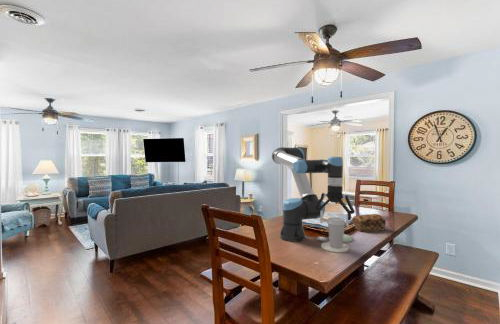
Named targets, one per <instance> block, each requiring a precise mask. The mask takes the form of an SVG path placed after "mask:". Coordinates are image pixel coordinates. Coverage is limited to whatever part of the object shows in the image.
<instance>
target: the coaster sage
mask: <svg viewBox="0 0 500 324" xmlns="http://www.w3.org/2000/svg"><path fill="white" fill-rule="evenodd" d="M353 241H354V237H353V236H351V235H350V234H346V233H344V237H343V243H350V242H351V243H352V242H353Z"/></svg>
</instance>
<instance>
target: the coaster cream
mask: <svg viewBox="0 0 500 324" xmlns="http://www.w3.org/2000/svg"><path fill="white" fill-rule="evenodd" d="M320 245H321V247H320V248H321V249H323V250H324V251H326V252H330V253H339V254H341V253H342V254H343V253H346V252H349V246H348V245H347V244H345V243H343V247H342V248H340V249H336V248H332V247H330V241H328V242H322V243H321V244H320Z"/></svg>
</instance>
